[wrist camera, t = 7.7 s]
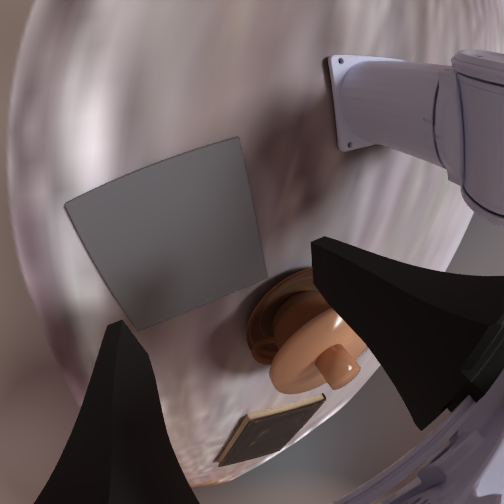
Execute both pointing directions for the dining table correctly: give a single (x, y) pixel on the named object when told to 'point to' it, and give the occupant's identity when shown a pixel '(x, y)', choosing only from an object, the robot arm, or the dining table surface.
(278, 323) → the cup and saucer
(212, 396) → the dining table surface
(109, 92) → the dining table surface
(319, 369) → the lid
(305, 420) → the hardcover book
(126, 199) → the coaster
